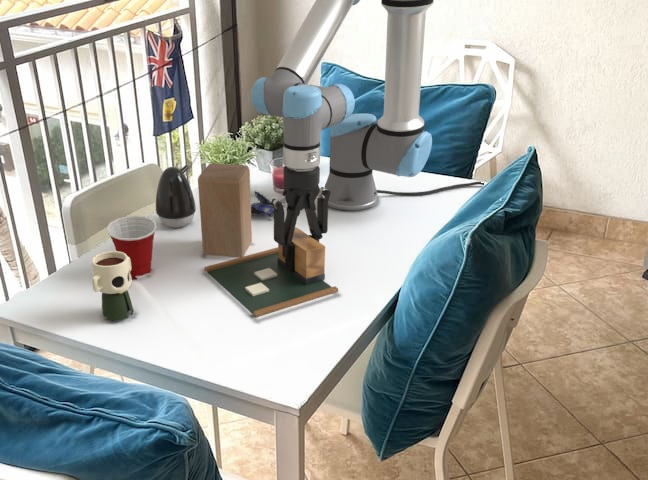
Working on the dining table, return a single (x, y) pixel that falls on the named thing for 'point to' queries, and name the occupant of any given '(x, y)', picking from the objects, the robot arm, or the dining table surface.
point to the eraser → (306, 258)
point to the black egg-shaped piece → (175, 198)
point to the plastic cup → (134, 241)
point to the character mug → (113, 283)
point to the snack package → (262, 206)
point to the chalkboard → (265, 283)
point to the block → (225, 209)
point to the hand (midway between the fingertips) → (300, 266)
